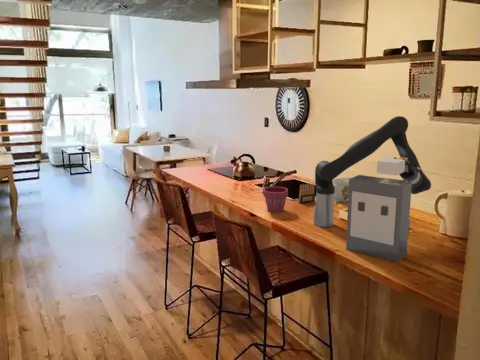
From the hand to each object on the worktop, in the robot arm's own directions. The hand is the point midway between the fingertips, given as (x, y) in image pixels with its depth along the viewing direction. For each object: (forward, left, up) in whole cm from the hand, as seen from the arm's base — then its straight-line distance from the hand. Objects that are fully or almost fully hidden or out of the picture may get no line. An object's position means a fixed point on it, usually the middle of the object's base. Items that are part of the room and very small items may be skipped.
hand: (398, 159), depth 179 cm
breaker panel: (-4, -8, -40) cm, 41 cm away
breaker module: (0, -3, -4) cm, 5 cm away
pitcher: (-55, +56, -40) cm, 88 cm away
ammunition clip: (-70, +42, -40) cm, 91 cm away
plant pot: (-75, +16, -40) cm, 87 cm away
